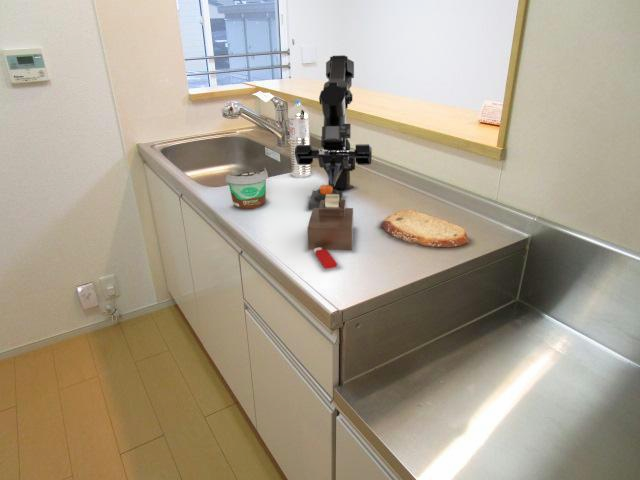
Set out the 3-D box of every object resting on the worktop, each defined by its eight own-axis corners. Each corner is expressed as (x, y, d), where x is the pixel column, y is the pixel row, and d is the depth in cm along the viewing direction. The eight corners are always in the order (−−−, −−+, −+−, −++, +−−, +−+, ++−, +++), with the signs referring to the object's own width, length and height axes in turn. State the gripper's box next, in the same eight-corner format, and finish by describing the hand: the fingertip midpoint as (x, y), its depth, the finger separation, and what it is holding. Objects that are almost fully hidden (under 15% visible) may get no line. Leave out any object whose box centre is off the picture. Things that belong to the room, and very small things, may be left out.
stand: (314, 227, 115) (313, 199, 112) (353, 227, 114) (353, 200, 111) (308, 250, 104) (307, 220, 101) (351, 250, 103) (352, 220, 100)
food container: (235, 214, 124) (231, 179, 120) (228, 207, 129) (224, 174, 125) (276, 205, 129) (274, 172, 125) (268, 199, 134) (266, 166, 130)
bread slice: (473, 245, 103) (475, 230, 102) (398, 253, 101) (399, 238, 100) (442, 215, 119) (444, 202, 118) (377, 221, 117) (377, 208, 116)
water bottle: (311, 177, 152) (308, 101, 142) (290, 177, 153) (286, 101, 142) (311, 171, 159) (308, 97, 148) (292, 171, 159) (288, 98, 148)
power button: (320, 190, 131) (320, 184, 130) (332, 190, 130) (332, 184, 130) (319, 195, 128) (319, 189, 127) (332, 195, 127) (331, 189, 126)
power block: (313, 196, 136) (312, 185, 134) (342, 196, 135) (342, 185, 133) (308, 210, 126) (308, 198, 124) (341, 210, 125) (340, 198, 124)
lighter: (324, 264, 95) (313, 248, 102) (324, 269, 95) (313, 253, 102) (336, 262, 96) (325, 246, 102) (336, 267, 96) (325, 251, 103)
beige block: (326, 203, 111) (326, 194, 110) (339, 203, 110) (339, 194, 109) (325, 208, 108) (325, 198, 107) (338, 208, 107) (338, 199, 106)
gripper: (293, 111, 107) (289, 170, 102) (372, 110, 105) (372, 170, 100) (299, 136, 117) (295, 191, 113) (371, 136, 116) (370, 191, 111)
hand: (332, 185), depth 109 cm, fingers closed
